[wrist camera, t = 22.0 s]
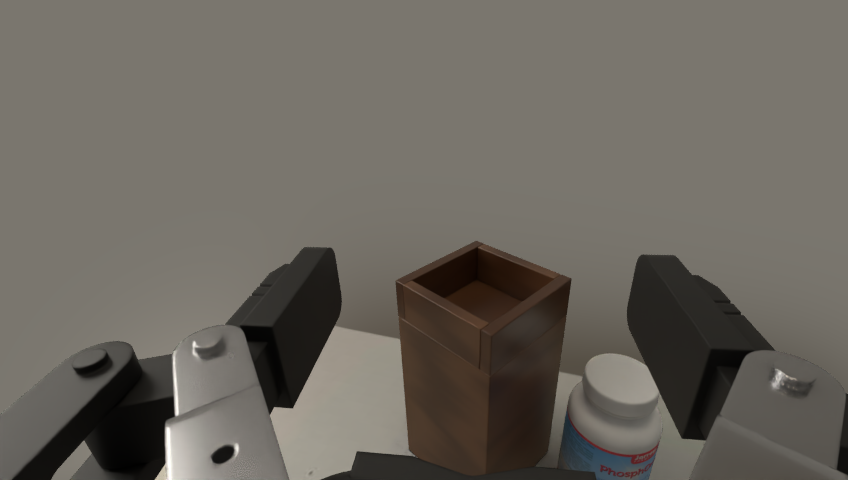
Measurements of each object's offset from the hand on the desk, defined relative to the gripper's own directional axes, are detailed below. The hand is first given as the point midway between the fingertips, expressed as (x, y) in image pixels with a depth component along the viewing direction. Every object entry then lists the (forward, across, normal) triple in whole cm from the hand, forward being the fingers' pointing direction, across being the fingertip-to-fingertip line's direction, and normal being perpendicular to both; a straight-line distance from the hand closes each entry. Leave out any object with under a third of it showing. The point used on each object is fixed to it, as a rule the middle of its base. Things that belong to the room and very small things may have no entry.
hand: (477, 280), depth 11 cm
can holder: (+15, 0, +26) cm, 30 cm away
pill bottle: (+12, -9, +26) cm, 31 cm away
